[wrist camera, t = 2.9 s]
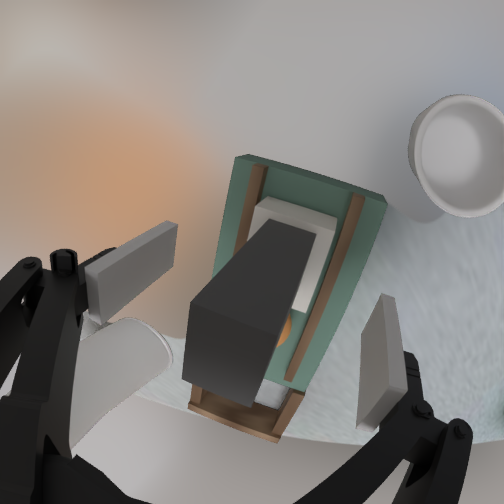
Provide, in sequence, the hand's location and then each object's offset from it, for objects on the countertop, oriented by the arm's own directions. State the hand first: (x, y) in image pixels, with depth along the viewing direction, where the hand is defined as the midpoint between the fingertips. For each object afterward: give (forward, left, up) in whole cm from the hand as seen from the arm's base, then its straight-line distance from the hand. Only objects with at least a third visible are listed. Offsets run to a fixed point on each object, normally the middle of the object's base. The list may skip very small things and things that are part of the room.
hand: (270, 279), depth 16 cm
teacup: (-10, -11, -10) cm, 18 cm away
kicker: (0, 0, -7) cm, 7 cm away
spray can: (+16, +21, -10) cm, 29 cm away
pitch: (0, +5, -10) cm, 11 cm away
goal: (0, +18, -10) cm, 21 cm away
